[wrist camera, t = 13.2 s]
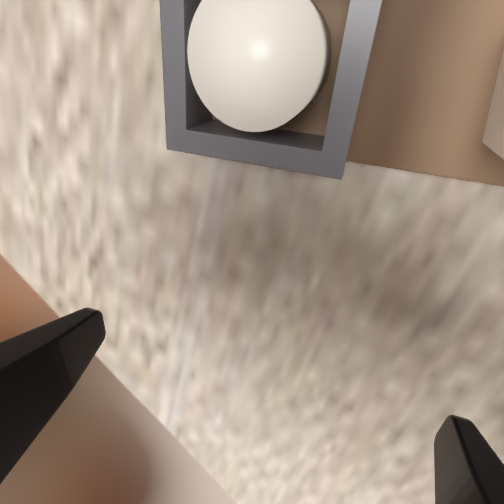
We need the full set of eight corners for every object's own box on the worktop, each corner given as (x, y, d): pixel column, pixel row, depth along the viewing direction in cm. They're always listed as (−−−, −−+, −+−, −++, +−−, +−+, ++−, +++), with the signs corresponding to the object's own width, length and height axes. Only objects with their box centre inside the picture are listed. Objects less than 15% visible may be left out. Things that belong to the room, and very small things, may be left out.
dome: (344, -10, 13) (336, -28, 10) (319, 125, 16) (308, 141, 13) (222, -17, 14) (186, -35, 11) (219, 111, 17) (188, 122, 14)
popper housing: (395, -58, 12) (401, -86, 10) (345, 160, 17) (341, 179, 14) (193, -63, 14) (155, -89, 12) (194, 136, 18) (166, 149, 16)
